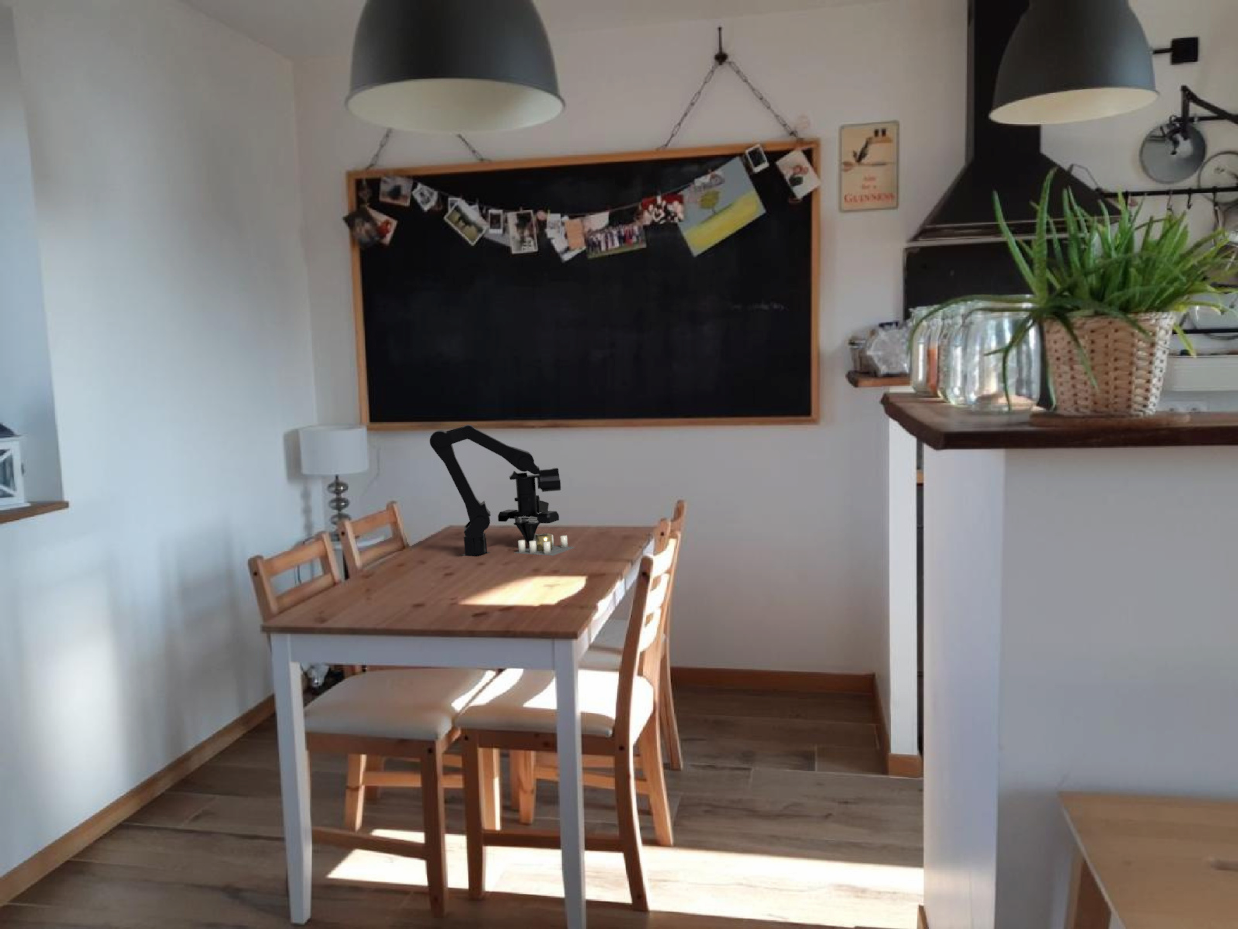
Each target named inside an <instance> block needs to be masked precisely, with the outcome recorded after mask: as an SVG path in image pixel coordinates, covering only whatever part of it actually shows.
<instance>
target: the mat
mask: <svg viewBox="0 0 1238 929" xmlns="http://www.w3.org/2000/svg"><path fill="white" fill-rule="evenodd" d="M536 548H537V546H536ZM575 548H576V546H568V548H561V545H554V547H553V550H551V554H547V555H545V554H544V552H541V551H537V553H534V554H533V555H538V556H539V555H540V556H541V555H542V556H552V557H553V556H557V555H559V554H561V553H564V552H567V551H569V550H572V549H575ZM525 549H526V552H524V553H521V555H522V554H525V555H532V554H531V553H530V546H529V547H527V548H526V547H525ZM514 554H520V553H519V550H518V551H515V552H514Z"/></svg>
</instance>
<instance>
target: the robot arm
mask: <svg viewBox="0 0 1238 929" xmlns="http://www.w3.org/2000/svg"><path fill="white" fill-rule="evenodd" d="M465 440H469V441H470V442H473V443H475V444H477V445H479V446H480V447H483V448H484V449H487V450H488V451H489V452H491V453H494V454H496V455H498V456H500V457H502V458H503V459H505V461H507V462H508V463H509V464H510V465H512V466H513V467H514V468H516V469H517V470H518V471H520V472H516V471H515V470H513V472H512V473H511V474H510V475H509V480H510V481H514V480H515V487H516V497H514V502H517V509H505V510H501V511H500V512H498V515H497V521H498V522H502V523H504V522H505V523H506V522H507V521H509V519H510V520H512V519H513V520H514V522H513V525H514V526H516V527H517V529H518V530H519V532H520V533H521V535H522V536H523V539H524V540H525V543H526V544H527V546H529V541H533V540H534V536H535V534H536V533H537V532H536V531H537V529H538V528H539V526H540V525H541V524H551V523H556V522H557V521H560V515H559V513H558V511H556V510H549V506H550V503H549V502H547V501H544V500H541V498H540V495H539V494H537V491H536V490H537V489H538V490H541V492H542V493H544V492H545V493H547V492H556V491H557V492H559V491H561V489H562V486H561V484H562V483H561V479H560V472H559V468H558V467H553V468H548V469H540V466H537V465H536V464H535V459H534V457H533V454H532V453H531V452H529V451H527V450H524V449H521V448H518V447H514V446H510V445H508V444H505V443H504V442H502V441H500V440H498V439H496V438H495V437H492V436H490V435H489V434H487V433H485V432H482V431H481V430H479V429H477V428H475V427H474V426H473V425H472V424H465V425H464V426H461V427H457V428H453V429H450V430H444V429H438V430H435V431H433V433H432V434H431V436H430V438H429V445H430V447H431V448H432V450H433V451H434V452H435V454H436V455H437V456H438V457H439V458H440V460H441V461H442V462H443V463H444V465H445V467H446V470H447V471H448V473H449V475H450V477H451V479H452V481H453V483H454V485H455V487H456V489H457V491H458V493H459V495H460V497H461V500H462V501H463V503H464V505H465V509H466V513H467V516H468V519H469V521H468V522H467V523H466V524H465V526H464V528H463V529H464V530H463V533H464V536H463V544H464V553H463V554H461V555H460V556H461V557H476V558H477V557H480V556H484V555H487V554H490V553H491V551H488V548H487V545H488V544H487V538H486V533H485V530H487V529H488V528H489V527H490V524H491V518H490V517H491V511H490V510H489V509H488V507H487V504H486V501H485V500H483V501H482V502H481V501H480V500H479V499H478V498H477V497H476V495H475V493H474V491H473V488H472V487H471V485H470V483H469V480H468V479H467V477H466V474H465V472H464V470H463V469H462V467H461V465H460V463H459V461H458V459H457V457H456V456H457V455H456V453H455V451H454V447H453V444H456V443H459V442H462V441H465ZM527 472H528V473H530V475H529V474H528V473H527ZM536 481H537V482H536ZM536 483H537V489H536Z"/></svg>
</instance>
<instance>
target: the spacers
mask: <svg viewBox="0 0 1238 929" xmlns="http://www.w3.org/2000/svg"><path fill="white" fill-rule="evenodd" d="M538 534H539V533H535V536H534V540H533V541H529V545H528V546H529V547H530V553H531V554H530V555H535V554H534V553H537V548H536V546H537V541H536V535H538ZM559 539H560V546H561V548H568V547H569V545H568V544H569V543H568V535H560V538H559ZM554 541H555V540H554V535H553V534H552V547H554V546H555V542H554ZM517 544H518V551H519V553H518V554H522V553H524V552H526V540H525V539H520V540H517ZM543 546H544V554H545V555H544V556H548V555H547V554H551V547H550V541H545V542H543Z"/></svg>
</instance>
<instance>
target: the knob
mask: <svg viewBox="0 0 1238 929" xmlns="http://www.w3.org/2000/svg"><path fill="white" fill-rule="evenodd" d="M537 534H538V535H536V541H537V551H541V552H544V546H543V542H545V541H550V547H551V550H553V547H552V535H553V534H552V533H537Z"/></svg>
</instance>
